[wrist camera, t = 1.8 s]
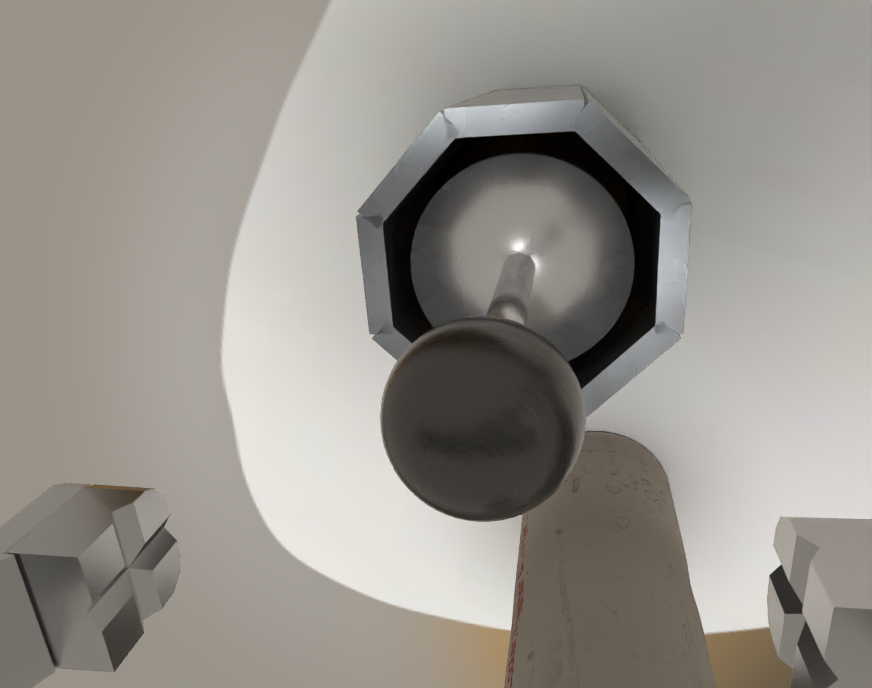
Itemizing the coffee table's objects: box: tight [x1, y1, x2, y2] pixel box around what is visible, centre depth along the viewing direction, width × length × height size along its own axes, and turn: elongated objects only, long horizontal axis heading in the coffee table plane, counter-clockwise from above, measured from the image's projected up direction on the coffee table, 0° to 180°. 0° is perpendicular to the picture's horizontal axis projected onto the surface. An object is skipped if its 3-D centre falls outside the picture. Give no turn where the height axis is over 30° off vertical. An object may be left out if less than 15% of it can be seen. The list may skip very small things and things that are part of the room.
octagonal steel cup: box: [356, 85, 692, 417], centre depth 27 cm, size 10×13×14 cm
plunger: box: [380, 151, 634, 522], centre depth 16 cm, size 7×7×12 cm
